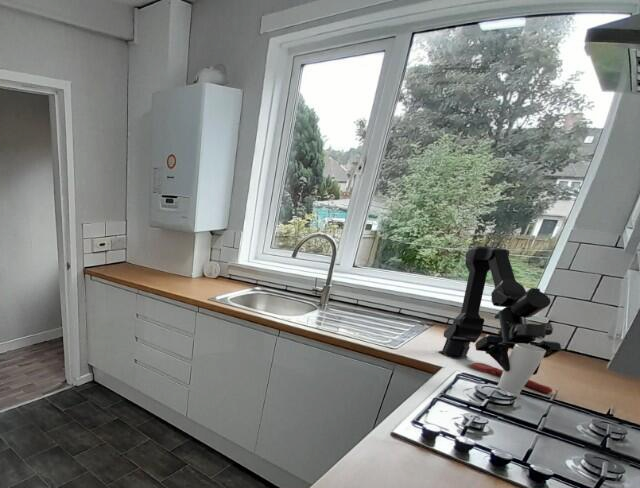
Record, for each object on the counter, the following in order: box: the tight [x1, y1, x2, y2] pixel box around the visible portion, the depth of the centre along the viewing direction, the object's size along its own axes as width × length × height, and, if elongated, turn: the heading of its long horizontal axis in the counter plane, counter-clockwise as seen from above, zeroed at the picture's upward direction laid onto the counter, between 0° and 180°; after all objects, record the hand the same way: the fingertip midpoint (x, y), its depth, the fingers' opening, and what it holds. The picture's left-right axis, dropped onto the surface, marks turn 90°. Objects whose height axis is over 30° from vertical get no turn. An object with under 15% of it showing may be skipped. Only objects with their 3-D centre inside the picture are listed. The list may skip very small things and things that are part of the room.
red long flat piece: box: [470, 362, 553, 394], centre depth 132 cm, size 22×6×2 cm, turn 17°
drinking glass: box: [496, 343, 546, 398], centre depth 118 cm, size 7×7×15 cm
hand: (521, 372), depth 117 cm, fingers closed on drinking glass, 6 cm apart
